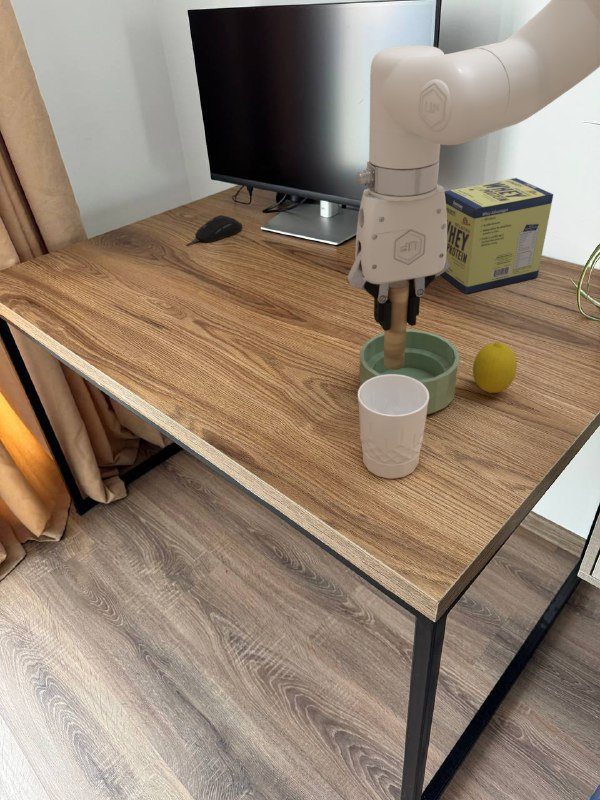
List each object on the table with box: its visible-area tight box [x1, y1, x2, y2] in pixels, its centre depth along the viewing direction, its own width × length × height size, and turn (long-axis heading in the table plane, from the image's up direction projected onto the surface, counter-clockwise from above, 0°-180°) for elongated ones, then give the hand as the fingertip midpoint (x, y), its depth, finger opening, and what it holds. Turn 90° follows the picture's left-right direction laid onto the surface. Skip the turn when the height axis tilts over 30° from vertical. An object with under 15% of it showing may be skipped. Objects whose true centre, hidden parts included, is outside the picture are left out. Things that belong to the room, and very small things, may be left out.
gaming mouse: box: [186, 214, 243, 247], centre depth 133 cm, size 6×15×4 cm, turn 131°
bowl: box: [359, 329, 461, 415], centre depth 81 cm, size 13×13×6 cm
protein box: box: [440, 177, 554, 295], centre depth 105 cm, size 10×16×16 cm
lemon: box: [472, 341, 518, 394], centre depth 78 cm, size 6×6×8 cm
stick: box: [383, 280, 409, 370], centre depth 76 cm, size 3×3×12 cm
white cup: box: [357, 374, 429, 480], centre depth 68 cm, size 8×8×10 cm
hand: (396, 322), depth 75 cm, fingers closed on stick, 2 cm apart
